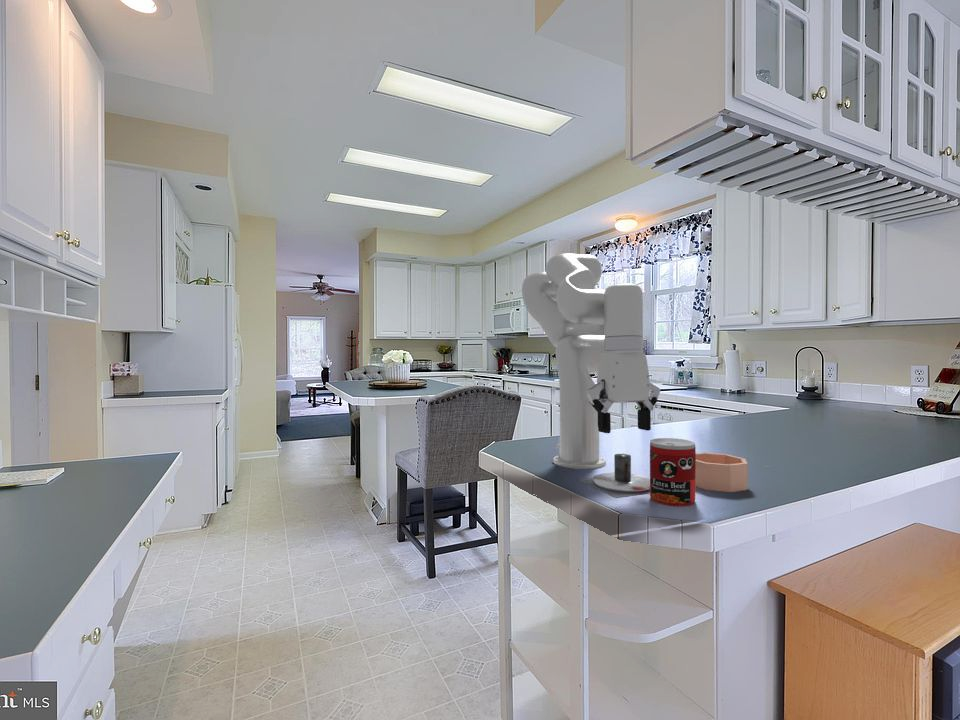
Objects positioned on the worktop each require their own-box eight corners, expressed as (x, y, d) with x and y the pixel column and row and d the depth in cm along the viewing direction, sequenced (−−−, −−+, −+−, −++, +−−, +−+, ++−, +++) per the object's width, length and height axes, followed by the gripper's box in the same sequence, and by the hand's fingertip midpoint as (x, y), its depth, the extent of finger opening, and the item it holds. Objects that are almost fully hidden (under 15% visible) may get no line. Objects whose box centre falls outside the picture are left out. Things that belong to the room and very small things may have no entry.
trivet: (577, 481, 98) (577, 479, 98) (628, 475, 103) (628, 474, 103) (616, 499, 86) (615, 497, 86) (671, 492, 91) (671, 490, 91)
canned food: (645, 503, 84) (645, 443, 84) (655, 492, 90) (655, 436, 90) (691, 511, 79) (691, 447, 79) (698, 499, 86) (698, 440, 86)
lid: (582, 480, 98) (582, 452, 98) (627, 475, 102) (627, 447, 102) (616, 496, 87) (616, 464, 87) (666, 489, 91) (666, 458, 91)
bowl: (675, 481, 98) (675, 455, 98) (714, 476, 102) (714, 451, 102) (717, 495, 88) (718, 466, 88) (759, 489, 92) (759, 462, 92)
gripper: (645, 347, 100) (646, 426, 100) (576, 346, 94) (577, 431, 94) (671, 345, 93) (672, 431, 93) (598, 345, 87) (599, 436, 87)
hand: (624, 431), depth 93 cm, fingers open, 9 cm apart
